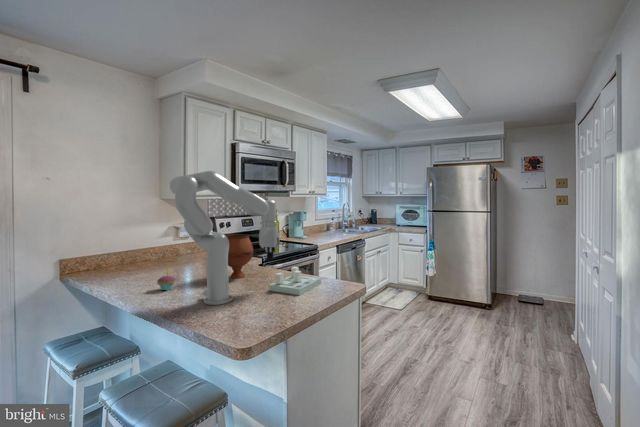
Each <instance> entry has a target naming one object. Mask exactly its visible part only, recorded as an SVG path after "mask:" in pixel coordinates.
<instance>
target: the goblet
mask: <svg viewBox="0 0 640 427" xmlns="http://www.w3.org/2000/svg"><path fill="white" fill-rule="evenodd" d="M225 236H226V237H227V238H228V240H229V252H228V267H230V268H231V271H233V272H232V273H231V274H230V278H229V279H234V280H236V279H237V280H238V279H243V278H245V277H246V275H245V273H244V272H243V270H242V269H243V267H244V266H245V265H247V264H248V263H249V262H250V261H251V260H252V258H253V256H254V247H253V243H252V241H251V239H250V235H249V234H243V233H241V234H240V233H236V234H235V233H233V234H226V235H225Z"/></svg>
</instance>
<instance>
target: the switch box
mask: <svg viewBox="0 0 640 427" xmlns="http://www.w3.org/2000/svg"><path fill="white" fill-rule="evenodd" d="M321 280H322V278H320V277H312V276H304V275H303V276H302V275H301V281H300V282H294V279H293V277H291V275H289V276H287V277H285V278H284V283H282V284H276V281H275V282H273V283H271V284H269V285H268V287H269V291H270V292H276V293H283V294H289V295H296V296H301V295H303V294H305V293H307V292H308V291H311V290H313V289H314V288H316V287H317V286H320V285H321V284H322V281H321Z"/></svg>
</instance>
